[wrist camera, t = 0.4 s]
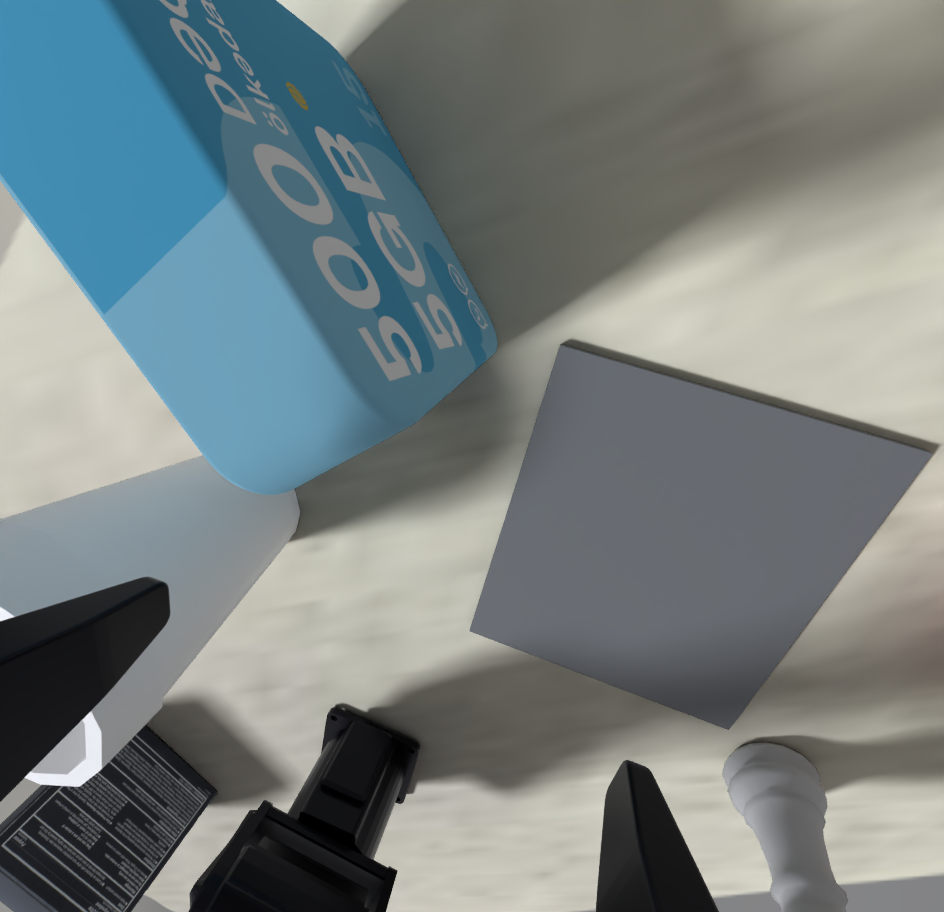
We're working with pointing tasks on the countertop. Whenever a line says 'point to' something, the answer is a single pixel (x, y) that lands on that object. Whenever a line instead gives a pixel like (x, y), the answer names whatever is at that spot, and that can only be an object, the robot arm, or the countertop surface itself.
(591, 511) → the mat
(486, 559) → the countertop surface
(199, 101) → the data package
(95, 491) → the foam cup
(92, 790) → the small box
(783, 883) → the rook chess piece
